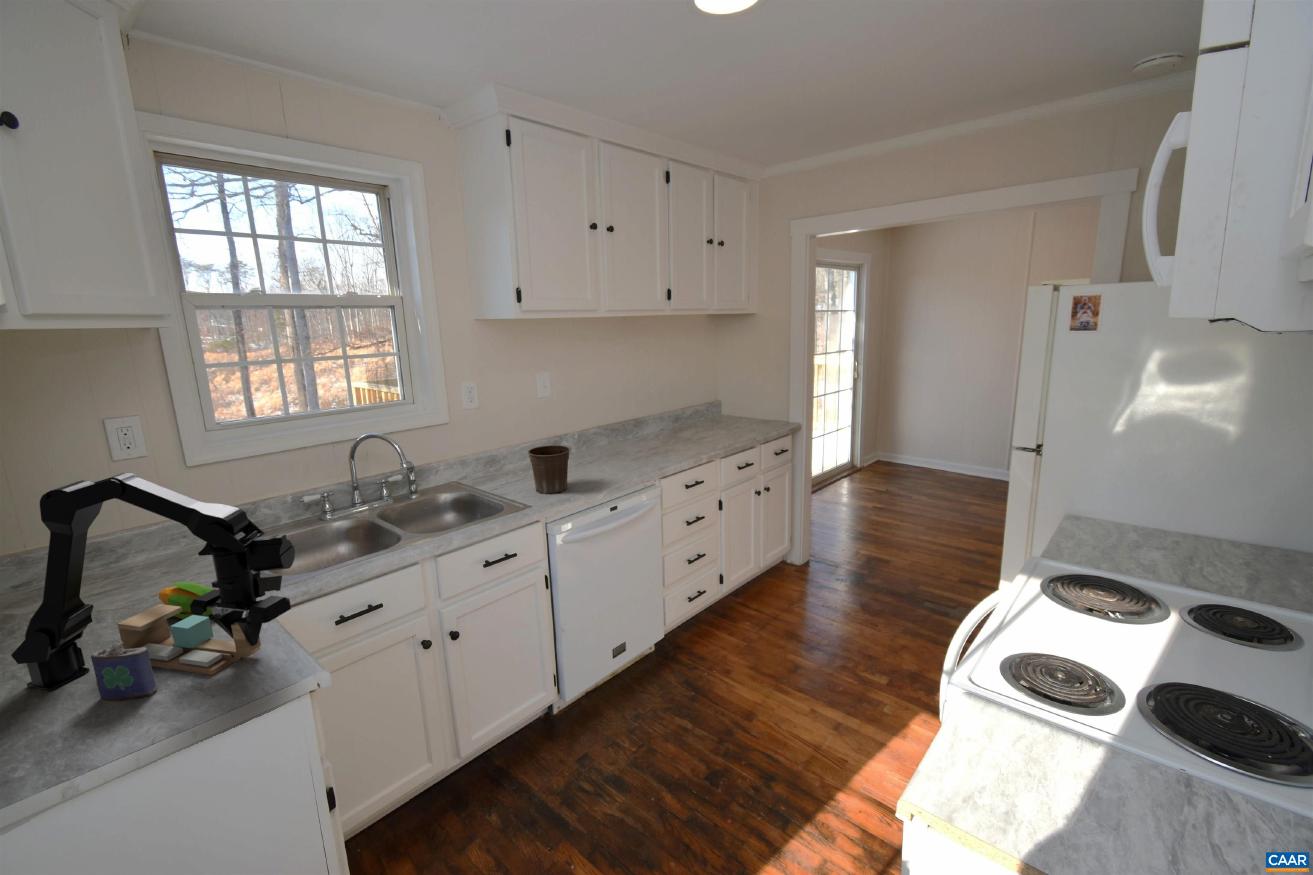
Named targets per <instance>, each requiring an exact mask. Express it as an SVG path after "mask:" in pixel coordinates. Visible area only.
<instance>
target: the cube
mask: <svg viewBox="0 0 1313 875" xmlns="http://www.w3.org/2000/svg"><path fill="white" fill-rule="evenodd" d="M209 617H210V616H207V617H205V616H197V615H192V616H190V617H188V618H186V619H181V620H180V621H178V622H175V623H174V624H172V625H170V630H171V634H172V635H171V636H172V637H173V640H174V644H175V646H178V647H185V648H194V647H196V646H197V645H199V644H201V643H203V642H205V641H206V640H208V639H210V638H211V639H213V637H214V633H213V628H212V624H211V620H210V619H209Z"/></svg>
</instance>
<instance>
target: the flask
mask: <svg viewBox="0 0 1313 875" xmlns="http://www.w3.org/2000/svg"><path fill="white" fill-rule="evenodd" d="M123 644H124V643H123V642H122V641H121V640H120V641H118V643H112V644H111V645H108V648H106V647H104V648H103V649H100V650H98V651H95V652H94V653H92V654H91V655H90V659H91V662H92V666H93V671H94V676H95V679H96V684H97V687H98V688H97V689H98V692H99V697H100V698H99V699H100V701H103V702H118V701H125V700H126V701H127V700H134V699H135V700H136V699H141V698H145V697H151V696H152V695H154V694H155V693H156V692H157V691H158V687H157V683H156V679H155V675H154V671H153V669H152V667H153V666H151V663H150V658H149V651H148V649H147V647H141V648H134V649H123Z"/></svg>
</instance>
